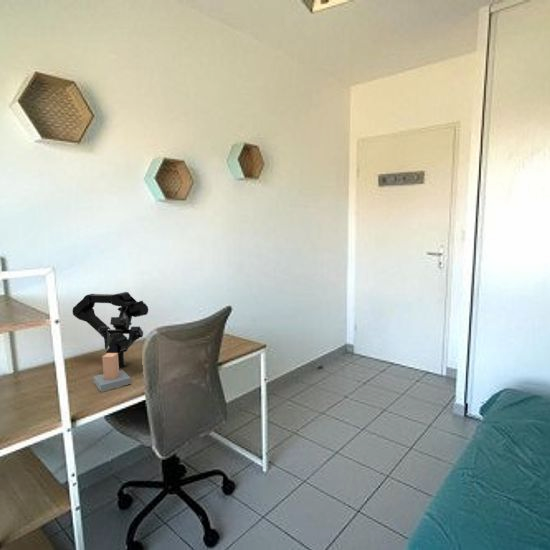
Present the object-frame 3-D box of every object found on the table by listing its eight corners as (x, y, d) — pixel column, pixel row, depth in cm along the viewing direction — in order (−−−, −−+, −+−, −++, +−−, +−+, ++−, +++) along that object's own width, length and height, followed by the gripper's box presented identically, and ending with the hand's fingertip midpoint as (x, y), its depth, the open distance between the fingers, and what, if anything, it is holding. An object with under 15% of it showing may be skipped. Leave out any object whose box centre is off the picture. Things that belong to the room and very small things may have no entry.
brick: (103, 379, 163) (102, 356, 162) (109, 375, 168) (107, 352, 166) (114, 379, 163) (112, 356, 162) (119, 375, 168) (117, 353, 166)
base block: (94, 382, 167) (93, 376, 167) (122, 375, 174) (122, 369, 174) (101, 392, 158) (100, 385, 157) (131, 384, 165) (130, 377, 164)
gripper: (98, 309, 173) (87, 340, 164) (139, 309, 172) (130, 340, 163) (107, 321, 182) (98, 352, 173) (146, 321, 181) (139, 352, 172)
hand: (116, 349), depth 170 cm, fingers open, 9 cm apart
